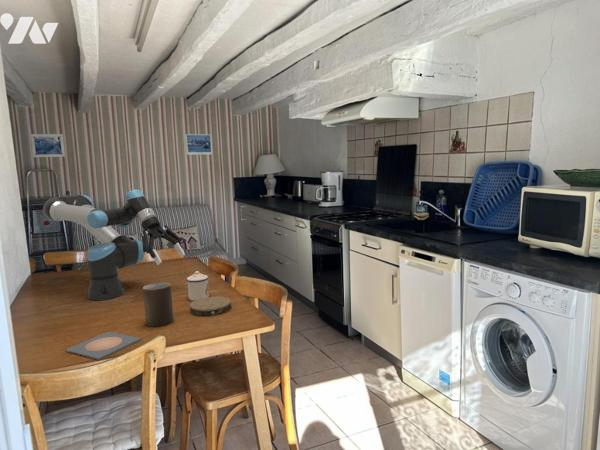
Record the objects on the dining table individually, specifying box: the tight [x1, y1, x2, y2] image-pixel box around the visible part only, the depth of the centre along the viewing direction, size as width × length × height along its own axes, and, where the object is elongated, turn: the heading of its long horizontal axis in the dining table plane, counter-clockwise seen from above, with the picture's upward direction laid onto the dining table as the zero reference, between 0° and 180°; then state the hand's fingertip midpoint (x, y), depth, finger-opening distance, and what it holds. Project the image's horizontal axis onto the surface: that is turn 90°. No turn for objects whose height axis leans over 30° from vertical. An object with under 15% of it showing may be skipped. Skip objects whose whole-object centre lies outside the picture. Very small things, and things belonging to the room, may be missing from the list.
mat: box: [64, 331, 142, 361], centre depth 139 cm, size 16×16×1 cm
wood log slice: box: [189, 296, 232, 317], centre depth 169 cm, size 16×16×3 cm
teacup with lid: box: [186, 270, 210, 302], centre depth 186 cm, size 12×9×12 cm
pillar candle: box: [142, 282, 174, 327], centre depth 157 cm, size 10×10×15 cm
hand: (171, 259), depth 191 cm, fingers open, 13 cm apart
